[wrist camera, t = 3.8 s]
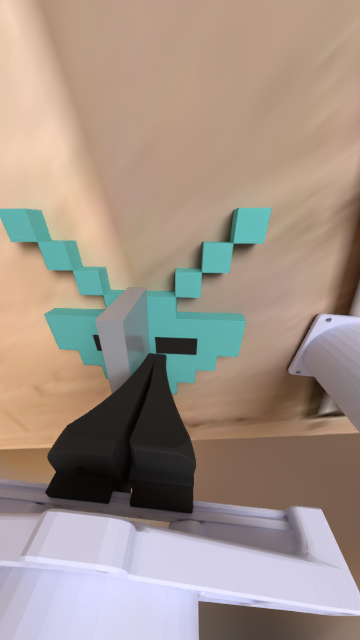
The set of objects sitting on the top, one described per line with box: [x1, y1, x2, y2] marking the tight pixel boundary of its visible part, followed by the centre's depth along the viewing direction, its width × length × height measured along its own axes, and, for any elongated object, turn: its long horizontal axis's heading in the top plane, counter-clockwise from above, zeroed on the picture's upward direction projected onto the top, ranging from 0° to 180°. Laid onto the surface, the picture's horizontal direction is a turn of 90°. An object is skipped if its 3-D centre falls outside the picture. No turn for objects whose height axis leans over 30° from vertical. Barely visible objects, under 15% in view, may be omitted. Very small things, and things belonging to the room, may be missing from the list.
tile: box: [95, 287, 150, 394], centre depth 14 cm, size 2×8×6 cm, turn 178°
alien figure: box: [0, 208, 272, 394], centre depth 18 cm, size 20×2×20 cm
